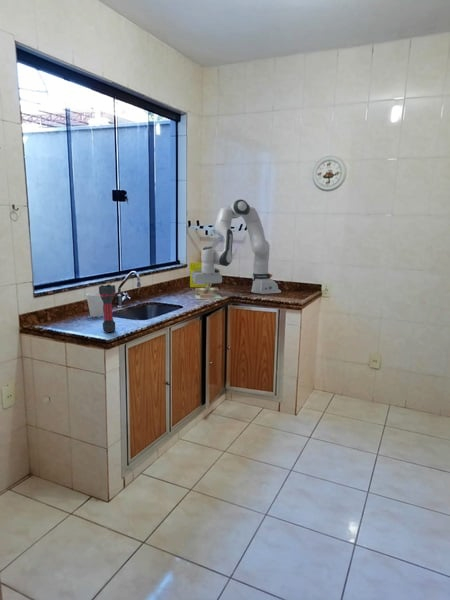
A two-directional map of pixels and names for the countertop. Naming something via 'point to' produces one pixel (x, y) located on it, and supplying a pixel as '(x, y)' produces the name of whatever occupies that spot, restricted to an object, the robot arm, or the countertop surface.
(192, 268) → the food package
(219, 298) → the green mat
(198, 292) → the birch deck
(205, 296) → the terracotta tile
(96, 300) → the foam cup
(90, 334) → the countertop surface
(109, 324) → the flashlight
